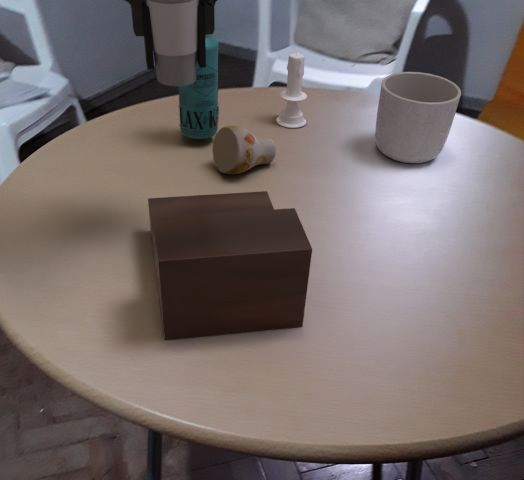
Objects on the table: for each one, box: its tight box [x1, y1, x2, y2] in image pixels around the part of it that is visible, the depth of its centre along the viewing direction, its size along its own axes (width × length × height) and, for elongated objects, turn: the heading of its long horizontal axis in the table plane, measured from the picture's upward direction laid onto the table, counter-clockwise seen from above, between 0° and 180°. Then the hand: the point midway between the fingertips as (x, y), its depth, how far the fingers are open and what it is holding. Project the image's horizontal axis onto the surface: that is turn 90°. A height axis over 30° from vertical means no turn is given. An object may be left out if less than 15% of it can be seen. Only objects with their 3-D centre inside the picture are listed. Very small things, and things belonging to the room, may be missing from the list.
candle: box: [275, 50, 308, 129], centre depth 108 cm, size 5×5×12 cm
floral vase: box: [211, 125, 277, 175], centre depth 97 cm, size 8×10×10 cm
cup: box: [145, 0, 199, 87], centre depth 70 cm, size 7×7×12 cm
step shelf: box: [147, 190, 313, 341], centre depth 76 cm, size 22×16×11 cm
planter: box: [374, 71, 462, 164], centre depth 102 cm, size 12×12×11 cm
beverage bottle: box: [177, 34, 220, 140], centre depth 98 cm, size 6×7×20 cm
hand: (175, 63), depth 73 cm, fingers closed on cup, 5 cm apart
